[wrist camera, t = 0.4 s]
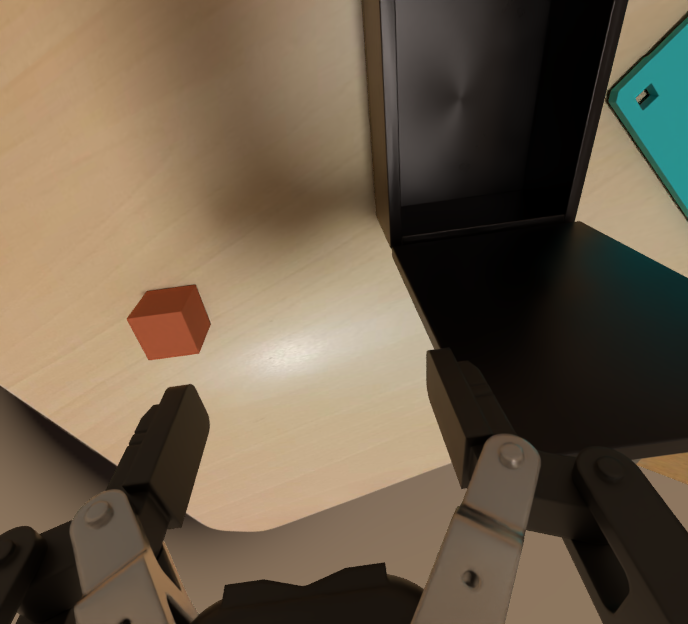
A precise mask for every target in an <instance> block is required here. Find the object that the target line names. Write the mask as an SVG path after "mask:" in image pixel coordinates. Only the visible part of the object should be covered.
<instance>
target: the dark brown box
mask: <svg viewBox="0 0 688 624" xmlns="http://www.w3.org/2000/svg"><path fill="white" fill-rule="evenodd" d="M627 4H628V0H362V12H363V27H364V42H365V57H366V72H367V87H368V102H369V117H370V132H371V147H372V163H373V178H374V193H375V208H376V216H377V219H378V221H379V223H380V226H381V228H382V230H383V232H384V234H385V237H386V239H387V241H388V243H389V246H390V248H391V249H392V247H394V246H401V245H409V244H416V243H423V242H431V241H438V240H445V239H453V238H460V237H467V236H475V235H482V234H489V233H497V232H504V231H511V230H519V229H526V228H533V227H541V226H548V225H555V224H563V223H570V222H575V218H576V214H577V210H578V206H579V202H580V197H581V193H582V189H583V185H584V181H585V177H586V173H587V169H588V164H589V160H590V156H591V152H592V148H593V144H594V140H595V136H596V132H597V127H598V123H599V119H600V115H601V111H602V107H603V103H604V99H605V94H606V90H607V86H608V82H609V78H610V74H611V70H612V66H613V62H614V57H615V53H616V49H617V45H618V41H619V37H620V33H621V29H622V24H623V20H624V16H625V12H626V8H627Z"/></svg>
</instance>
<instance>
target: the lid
mask: <svg viewBox="0 0 688 624" xmlns="http://www.w3.org/2000/svg"><path fill="white" fill-rule="evenodd" d="M392 257H393V259H394V261H395V264H396V266H397V268H398V270H399V272H400V275H401V277H402V279H403V281H404V283H405V286H406V288H407V290H408V292H409V294H410V297H411V299H412V301H413V303H414V305H415V308H416V310H417V312H418V314H419V317H420V319H421V321H422V323H423V325H424V328H425V330H426V332H427V334H428V336H429V339H430V341H431V343H432V345H433V347H434V350H435V349H442V348H450V349H451V350H452V352H453V354H454V356H455V358H456V360H457V362H460V361H467V360H468V361H469V362H471V363H472V364H473V365H474V366H476V367H477V368H478V369H479V370H480V371H481V373H482V374H483V376H484V378H485V380H486V381H487V385H489V387H490V388H491V390H492V392H493V395H495V397H496V399H497V401H498V402H499V404H500V406H501V408H502V410H503V411H504V413H505V415H506V417H507V418H508V420H509V422H510V424H511V425H512V427H513V429H514V431H515V432H516V434H517V435H518V436H519V437H521V438H523V439H525V440H526V441H528V442H529V443H530V444H531V445H532V446H533V447H534V448H535V449H537V450H540V451H543V452H546V453H551V454H558V455H565V456H572V457H577V456H578V454H579V452H580V451H581V450H583V449H584V448H587V447H591V446H602V447H607V448H611V449H613V450H616V451H618V452H620V453H622V454H624V455H625V456H627V457H628V458H629V459H631V460H637V459H644V458H651V457H659V456H666V455H673V454H681V453H688V278H687V277H685V276H683V275H681V274H679V273H677V272H675V271H673V270H671V269H670V268H668V267H666V266H664V265H662V264H660V263H658V262H656V261H654V260H652V259H651V258H649V257H647V256H645V255H643V254H641V253H639V252H637V251H635V250H633V249H632V248H630V247H628V246H626V245H624V244H622V243H620V242H618V241H616V240H615V239H613V238H611V237H609V236H607V235H605V234H603V233H601V232H599V231H597V230H596V229H594V228H592V227H590V226H588V225H586V224H584V223H582V222H580V221H577V222H570V223H563V224H555V225H548V226H541V227H533V228H526V229H519V230H511V231H504V232H497V233H489V234H482V235H475V236H467V237H460V238H453V239H445V240H438V241H431V242H423V243H416V244H409V245H401V246H394V247H392Z"/></svg>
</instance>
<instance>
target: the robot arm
mask: <svg viewBox="0 0 688 624" xmlns="http://www.w3.org/2000/svg"><path fill="white" fill-rule="evenodd" d="M426 381H427V391H428V396H429V400H430V403H431V406H432V409H433V411H434V414H435V417H436V420H437V422H438V425H439V428H440V431H441V433H442V436H443V439H444V442H445V445H446V447H447V450H448V453H449V456H450V458H451V461H452V464H453V467H454V469H455V472H456V475H457V478H458V480H459V483H460V486H461V489H463V488H467V491H466V493H465V496H464V499H463V501H462V503H461V505H460V506H458V507H457V508H456V510H455V512H454V514H453V517H452V519H451V522H450V524H449V527H448V529H447V532H446V534H445V537H444V540H443V542H442V545H441V547H440V550H439V552H438V555H437V558H436V560H435V563H434V565H433V568H432V570H431V573H430V575H429V578H428V581H427V583H426V586H425V588H424V589H423V588H421V587H420V586H418V585H417V584H415V583H413V582H411V581H409V580H407V579H404V578H401V577H397V576H394V575H389V574H387V573H386V566H385V563H377V564H371V565H363V566H356V567H349V568H344V569H342V570H340V571H338V572H336V573H333V574H331V575H329V576H327V577H325V578H323V579H320V580H318V581H316V582H314V583H311V584H309V585H306V586H298V585H293V584H287V583H281V582H275V581H270V580H257V581H250V582H243V583H236V584H228V585H225V587H224V593H223V599H222V600H220V601H218V602H216V603H214V604H213V605H211V606H210V607H208V608H207V609H205V610H204V611H203V612H202V613H200V614H199V613H198V612H197V610H196V608H195V607H194V605H193V604H192V602H191V600H190V599H189V597H188V594H187V592H186V590H185V588H184V585H183V583H182V581H181V578H180V576H179V574H178V571H177V569H176V567H175V565H174V562H173V560H172V558H171V555H170V553H169V551H168V549H167V547H166V544H165V543H164V541H163V540H164V537H165V534H166V531H167V529H174V528H181V527H182V524H183V521H184V517H185V514H186V510H187V507H188V503H189V500H190V496H191V493H192V489H193V486H194V482H195V479H196V475H197V472H198V469H199V465H200V462H201V458H202V455H203V451H204V448H205V444H206V441H207V437H208V434H209V428H210V422H209V416H208V413H207V411H206V409H205V407H204V405H203V403H202V401H201V399H200V397H199V395H198V393H197V390H196V388H195V387H194V386H193V385H192V384H189V385H182V386H175V387H169V388H167V389H166V391H165V393H164V395H163V397H162V399H161V402H160V404H157V405H153V406H152V407H151V408H150V409H149V410H148V412H147V413H146V414H145V415H144V416H143V417H142V418H141V420H140V422H139V424H138V426H137V428H136V430H135V435H133V436H132V438H131V440H130V442H129V446H127V448H126V450H125V452H124V454H123V456H122V458H121V460H120V462H119V464H118V466H117V468H116V471H115V473H114V474H113V477H112V479H111V481H110V483H109V485H108V487H107V489H106V490H105V491H104V492H102V493H99V494H97V495H96V496H94V497H93V498H91V499H90V500H89V501H87V502H86V503H85V504H84V505H83V506H82V507H81V508H80V509H79V511H78V512H77V513H76V515H75V516H74V518H73V520H71V521H69V522H66V523H64V524H62V525H59V526H57V527H55V528H53V529H50V530H48V531H46V532H43V533H41V534H38V533H37V532H36V531H35V530H33V529H32V528H31V527H28V526H21V527H16V528H13V529H11V530H9V531H7V532H5V533H3V534H2V535H0V624H11V623H12V621H13V619H14V617H15V615H16V613H19V614H20V616H19V618H18V620H17V622H16V624H505V620H506V615H507V611H508V607H509V603H510V598H511V594H512V589H513V585H514V581H515V577H516V573H517V568H518V564H519V560H520V555H521V551H522V547H523V542H524V536H525V531H526V530H528V531H534V532H538V533H544V534H548V535H553V536H558V537H562V539H563V541H564V543H565V545H566V547H567V549H568V551H569V553H570V555H571V558H572V560H573V561H574V563H575V566H576V568H577V570H578V572H579V574H580V576H581V578H582V580H583V583H584V585H585V587H586V589H587V591H588V593H589V595H590V597H591V599H592V601H593V604H594V606H595V608H596V610H597V612H598V614H599V616H600V618H601V620H602V622H603V624H688V532H687V531H686V530H685V528H684V527H683V526H682V524H681V523H680V522H679V520H678V519H677V518H676V516H675V515H674V514H673V512H672V511H671V510H670V508H669V507H668V506H667V505H666V503H665V502H664V500H663V499H662V498H661V496H660V495H659V494H658V493H657V491H656V490H655V489H654V487H653V486H652V485H651V483H650V482H649V481H648V479H647V478H646V477H645V475H644V474H643V473H642V471H641V470H640V469H639V467H638V466H637V465H636V464H635V463H634V462H633V461H632V460H631V459H629V458H628V457H627V456H625V455H624V454H622V453H620V452H618V451H616V450H613V449H611V448H607V447H602V446H591V447H587V448H584V449H583V450H581V451H580V452H579V454H578V456H577V457H572V456H565V455H558V454H551V453H546V452H543V451H540V450H537V449H535V448H534V447H533V446H532V445H531V444H530V443H529V442H528V441H526V440H525V439H523V438H521V437H519V436H518V435H517V434H516V432H515V431H514V429H513V427H512V425H511V424H510V422H509V420H508V418H507V417H506V415H505V413H504V411H503V410H502V408H501V406H500V404H499V402H498V401H497V399H496V397H495V395H493V392H492V390H491V388H490V387H489V385H487V381H486V380H485V378H484V376H483V374H482V373H481V371H480V370H479V369H478V368H477V367H476V366H474V365H473V364H472V363H471V362H469V361H468V360H467V361H460V362H457V360H456V358H455V356H454V354H453V352H452V350H451V349H450V348H442V349H435V350H428V351H427V354H426Z"/></svg>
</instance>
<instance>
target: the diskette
mask: <svg viewBox="0 0 688 624" xmlns="http://www.w3.org/2000/svg"><path fill="white" fill-rule="evenodd" d="M645 88H646V89H647V91H648V92H649V94H650V96H649V97H648V98H647V99H645V100H644V101H643V102H642V103H641V104H640V105H639V104H638V102H637V101H636V99H635V98H636V97H637V96H638V95H639V94H640V93H641V92H642V91H643V90H644V89H645ZM608 102H609V104H610V105H611V106H612V108H613V109H614V111H615V112H616V114H617V115H618V117H619V118H620V120H621V121H622V123H623V124H624V126H625V127H626V129H627V130H628V131H629V133H630V134H631V136H632V137H633V139H634V140H635V142H636V143H637V145H638V146H639V148H640V149H641V151H642V152H643V154H644V155H645V157H646V158H647V159H648V161H649V162H650V164H651V165H652V167H653V168H654V170H655V171H656V173H657V174H658V176H659V177H660V179H661V180H662V182H663V183H664V184H665V186H666V187H667V189H668V190H669V192H670V193H671V195H672V196H673V198H674V199H675V201H676V202H677V204H678V205H679V207H680V208H681V210H682V211H683V212H684V214H685V215H686V217H687V218H688V17H687V18H686V19H685V20H684V21H683V22H682V23H681V24H680V25H679V26H678V27H677V28H676V29H675V30H674V31H673V32H672V33H671V34H670V35H669V36H668V37H667V38H666V39H665V40H664V41H663V42H662V43H661V44H660V45H659V46H658V47H657V48H656V49H655V50H654V51H653V52H652V53H651V54H650V55H649V56H645V57H644V58H643V59H642V60H641V61H640V62H639V63H638V64H637V65H636V66H635V67H634V68H633V69H632V70H631V71H630V72H629V73H628V74H627V75H626V76H625V77H624V78H623V79H622V80H621V81H620V82H619V83H618V84H617V85H616V86H615V87H614V88H613V89H612V90H611V92H610V97H609V101H608Z"/></svg>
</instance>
